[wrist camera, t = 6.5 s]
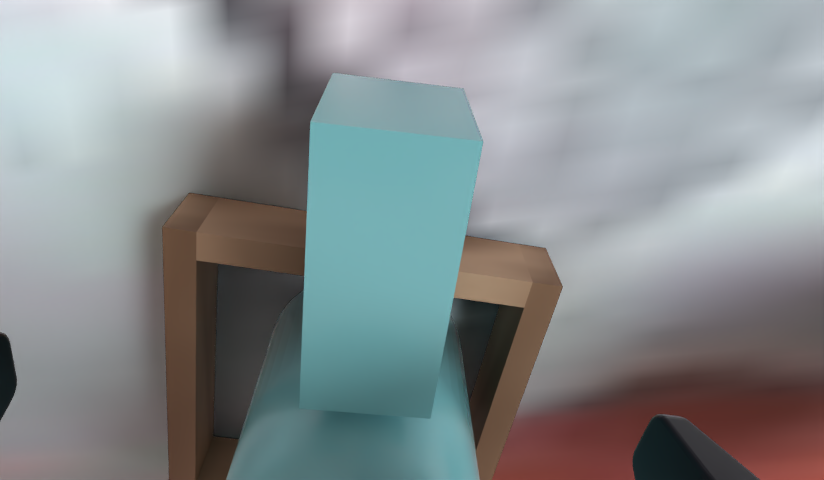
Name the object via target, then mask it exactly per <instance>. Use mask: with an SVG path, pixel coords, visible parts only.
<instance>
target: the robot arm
mask: <svg viewBox="0 0 824 480" xmlns="http://www.w3.org/2000/svg"><path fill="white" fill-rule="evenodd" d="M16 386H17V377H16V371H15V366H14V361H13V356H12V351H11V345H10V341H9V338H8V337H7V336H6V334H4V333H2V332H0V420H1V419H2V417H3V415H4V413H5V411H6V409H7V408H8V406H9V404H10V402H11V400H12V398H13V396H14V393H15V390H16ZM633 471H634V476H635V480H760V479H759V478H757V477H756V476H755V475H754V474H753V473H751V472H750V471H749V470H748V469H746V468H745V467H744V466H743V465H742V464H740V463H739V462H738V461H737V460H736V459H734V458H733V457H732V456H731V455H730V454H728V453H727V452H726V451H725V450H724V449H722V448H721V447H720V446H719V445H718V444H716V443H715V442H714V441H713V440H711V439H710V438H709V437H708V436H707V435H705V434H704V433H703V432H702V431H701V430H699V429H698V428H697V427H696V426H695V425H693V424H692V423H691V422H690V421H689V420H687V419H686V418H684V417H680V416H673V415H665V414H658V415H655V416H654V417H653V418H652V419H651V420H650V422H649V424H648V426H647V428H646V430H645V432H644V434H643V435H642V437H641V439H640V441H639V443H638V445H637V447H636V449H635V451H634V455H633Z"/></svg>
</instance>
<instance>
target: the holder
mask: <svg viewBox="0 0 824 480" xmlns="http://www.w3.org/2000/svg"><path fill="white" fill-rule="evenodd" d="M306 220H307V211H303V210H296V209H290V208H284V207H277V206H271V205H264V204H258V203H251V202H245V201H239V200H232V199H226V198H219V197H213V196H206V195H200V194H194V193H189V194H188V195H187V196H186V198H185V199H184V200H183V201H182V203H181V204H180V205H179V207H178V208H177V209H176V210H175V212H174V213H173V214H172V215H171V217H170V218H169V219H168V220H167V222H166V223H165V224H164V226H163V227H162V236H163V273H164V310H165V347H166V384H167V421H168V458H169V480H226V478H227V475H228V472H229V469H230V466H231V462H232V459H233V456H234V453H235V450H236V447H237V443H238V440H239V439H232V438H223V437H215V436H213V432H214V393H215V354H216V316H217V277H218V264H225V265H232V266H239V267H246V268H253V269H260V270H267V271H273V272H280V273H287V274H294V275H301V276H304V272H305V246H306ZM562 288H563V286H562V284H561V282H560V279H559V277H558V275H557V273H556V270H555V268H554V266H553V264H552V261H551V259H550V257H549V255H548V252H547V250H546V248H540V247H534V246H528V245H521V244H515V243H508V242H502V241H495V240H489V239H483V238H476V237H470V236H465V240H464V245H463V251H462V256H461V261H460V266H459V272H458V277H457V282H456V287H455V293H454V298H460V299H467V300H474V301H481V302H488V303H495V304H500V306H499V309H498V312H497V316H496V319H495V322H494V325H493V329H492V332H491V335H490V338H489V341H488V345H487V348H486V351H485V354H484V357H483V361H482V364H481V367H480V370H479V373H478V377H477V380H476V383H475V386H474V389H473V393H472V396H471V399H470V402H469V406H470V413H471V420H472V427H473V434H474V441H475V448H476V455H477V463H478V470H479V477H480V480H492V478H493V475H494V472H495V470H496V467H497V464H498V461H499V459H500V456H501V453H502V451H503V448H504V445H505V442H506V440H507V437H508V434H509V432H510V429H511V426H512V423H513V421H514V418H515V415H516V413H517V410H518V407H519V404H520V402H521V399H522V396H523V394H524V391H525V388H526V385H527V383H528V380H529V377H530V375H531V372H532V369H533V366H534V364H535V361H536V358H537V356H538V353H539V350H540V347H541V345H542V342H543V339H544V337H545V334H546V331H547V328H548V326H549V323H550V320H551V318H552V315H553V312H554V309H555V307H556V304H557V301H558V299H559V296H560V293H561V290H562Z"/></svg>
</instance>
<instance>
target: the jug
mask: <svg viewBox="0 0 824 480" xmlns="http://www.w3.org/2000/svg"><path fill="white" fill-rule="evenodd" d="M482 145H483V139H482V137H481V134H480V131H479V129H478V126H477V124H476V121H475V118H474V116H473V113H472V110H471V108H470V105H469V102H468V100H467V97H466V94H465V92H464V89H463V88H455V87H447V86H438V85H430V84H422V83H413V82H405V81H397V80H389V79H380V78H372V77H364V76H355V75H347V74H339V73H333V74H332V76H331V78H330V80H329V82H328V85H327V87H326V89H325V91H324V93H323V95H322V98H321V100H320V102H319V104H318V106H317V108H316V111H315V113H314V115H313V117H312V119H311V121H310V144H309V169H308V195H307V220H306V246H305V272H304V290H303V291H302V292H300V293H299V294H298V295H297V296H295V297H294V298H293V299H292V300H291V301H290V302H289V303H288V304H287V306H286V307H285V308H284V309H283V311H282V312H281V314H280V315H279V317H278V319H277V322H276V324H275V326H274V329H273V333H272V336H271V339H270V342H269V345H268V348H267V352H266V355H265V358H264V361H263V364H262V367H261V371H260V374H259V377H258V380H257V383H256V386H255V390H254V393H253V396H252V399H251V402H250V405H249V409H248V412H247V415H246V418H245V421H244V424H243V428H242V431H241V434H240V437H239V440H238V443H237V447H236V450H235V453H234V456H233V459H232V462H231V466H230V469H229V472H228V475H227V478H226V480H480V477H479V470H478V463H477V455H476V448H475V441H474V434H473V427H472V420H471V413H470V406H469V399H468V392H467V385H466V378H465V371H464V364H463V356H462V349H461V342H460V337H459V333H458V330H457V327H456V325H455V322H454V320H453V319H452V317H451V315H450V314H451V309H452V303H453V298H454V293H455V287H456V282H457V277H458V272H459V266H460V261H461V256H462V251H463V245H464V240H465V235H466V230H467V224H468V219H469V214H470V208H471V203H472V198H473V193H474V187H475V182H476V177H477V172H478V166H479V161H480V156H481V151H482Z"/></svg>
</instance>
